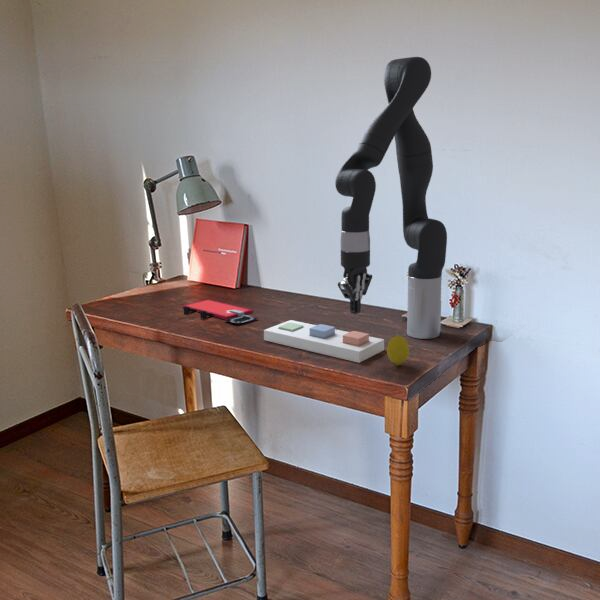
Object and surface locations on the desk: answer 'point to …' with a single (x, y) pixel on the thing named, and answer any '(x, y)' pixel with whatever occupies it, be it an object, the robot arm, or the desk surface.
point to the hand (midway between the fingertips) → (355, 313)
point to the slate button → (322, 331)
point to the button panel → (323, 342)
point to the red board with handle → (219, 311)
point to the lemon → (398, 350)
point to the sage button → (291, 327)
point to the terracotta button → (356, 338)
